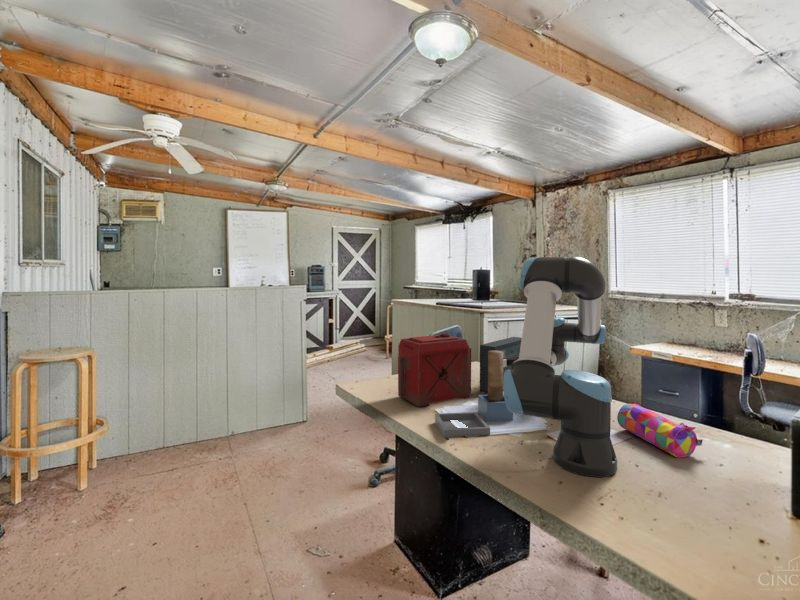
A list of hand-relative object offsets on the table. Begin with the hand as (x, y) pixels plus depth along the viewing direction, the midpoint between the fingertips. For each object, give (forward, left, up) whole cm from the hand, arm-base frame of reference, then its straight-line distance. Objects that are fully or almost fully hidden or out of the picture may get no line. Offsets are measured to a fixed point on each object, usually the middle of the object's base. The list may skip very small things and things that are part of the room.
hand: (511, 369), depth 139 cm
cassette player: (+31, -10, -16) cm, 36 cm away
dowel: (-6, +8, -14) cm, 18 cm away
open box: (-6, +8, -15) cm, 18 cm away
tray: (-14, +22, -15) cm, 30 cm away
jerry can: (+19, +25, -16) cm, 35 cm away
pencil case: (-30, -31, -16) cm, 46 cm away
